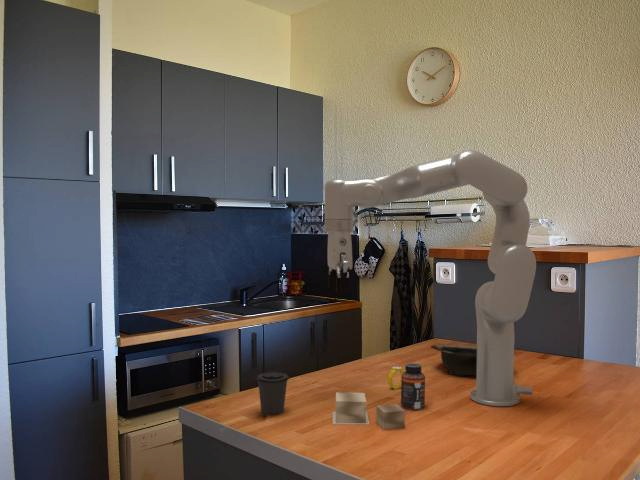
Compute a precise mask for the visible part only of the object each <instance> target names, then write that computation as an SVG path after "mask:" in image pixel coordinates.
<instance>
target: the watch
mask: <svg viewBox="0 0 640 480" xmlns="http://www.w3.org/2000/svg"><path fill="white" fill-rule="evenodd" d="M396 372H400V375H401V376H402V374H403V373H404V372H405V371H404V369H403V368H402V367H401V366H392V367H391V370H390V372H389V374H388V376H387V382H388V383H387V384H388V386H389V387H390V388H391V389H393V390H397V389H401V380H400V382H399V384H397V385H395V386H394V384H393V377H394V375H395V373H396ZM401 376H400V377H401Z"/></svg>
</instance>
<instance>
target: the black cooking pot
mask: <svg viewBox="0 0 640 480" xmlns="http://www.w3.org/2000/svg"><path fill="white" fill-rule="evenodd" d="M430 348H431V349H433V350H435V351H438V352H440V357H441V362H442V364H443V365H444V366H445V367H447V368H448V369H447V370H448V373H449V374H450V375H453V376H458V377H459V376H460V377H461V376H464V377H465V376H476V369H477V346H474V345H469V346H468V345H467V346H465V345H453V344H452V345H451V344H450V345H446V344H444V345H443V344H441V345H435V344H434V345H431V346H430Z"/></svg>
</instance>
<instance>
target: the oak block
mask: <svg viewBox="0 0 640 480" xmlns="http://www.w3.org/2000/svg"><path fill="white" fill-rule="evenodd" d="M375 412H376V424H377V425H378V426H379V427H380V428H381V429H382V430H383V431H387V430H388V431H389V430H399V429H400V430H402V429H405V428H406V427H405V425H406V424H405V423H406V421H405V420H406V419H405V418H406V411H405V409H403V408H402V407H401V405H398V404H397V403H390V404H379V405H376V411H375Z"/></svg>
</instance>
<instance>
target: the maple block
mask: <svg viewBox="0 0 640 480" xmlns="http://www.w3.org/2000/svg"><path fill="white" fill-rule="evenodd" d="M335 412H336V423H366V412H367V398H366V393H365V392H339V391H338V392H337V391H336V392H335Z"/></svg>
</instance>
